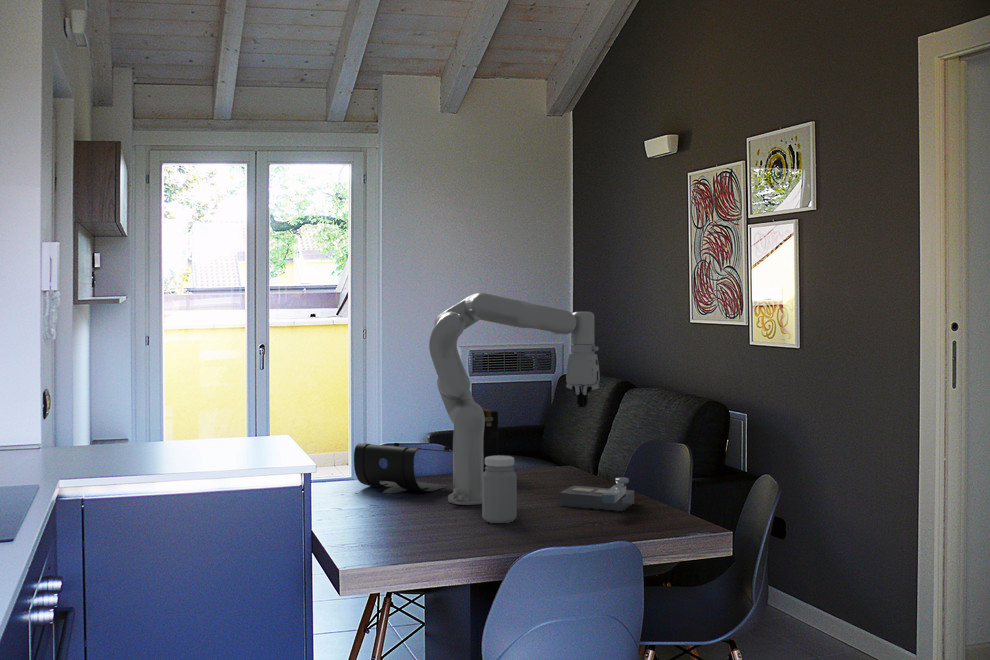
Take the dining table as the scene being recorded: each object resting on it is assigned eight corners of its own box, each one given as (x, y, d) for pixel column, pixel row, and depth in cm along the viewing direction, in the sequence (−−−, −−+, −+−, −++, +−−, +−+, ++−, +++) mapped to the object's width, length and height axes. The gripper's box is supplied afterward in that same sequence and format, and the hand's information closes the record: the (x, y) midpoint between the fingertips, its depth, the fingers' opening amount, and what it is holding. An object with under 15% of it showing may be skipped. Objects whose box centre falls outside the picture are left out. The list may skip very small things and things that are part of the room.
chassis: (621, 511, 268) (622, 488, 268) (559, 505, 276) (559, 482, 276) (634, 503, 279) (634, 481, 279) (573, 497, 288) (573, 476, 288)
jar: (522, 519, 257) (522, 456, 257) (505, 526, 249) (505, 461, 249) (493, 515, 262) (493, 454, 262) (475, 522, 254) (475, 458, 253)
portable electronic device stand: (351, 490, 299) (351, 444, 299) (391, 479, 320) (391, 436, 320) (416, 498, 288) (416, 449, 287) (453, 485, 309) (453, 440, 308)
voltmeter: (461, 474, 330) (461, 406, 330) (482, 473, 334) (482, 406, 333) (478, 482, 316) (478, 411, 315) (500, 480, 319) (500, 409, 319)
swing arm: (629, 490, 275) (629, 477, 275) (615, 503, 256) (615, 489, 256) (616, 489, 277) (616, 477, 277) (601, 502, 258) (601, 488, 258)
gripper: (608, 350, 289) (608, 407, 289) (564, 349, 295) (564, 405, 295) (601, 350, 282) (600, 409, 282) (556, 349, 288) (556, 407, 289)
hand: (582, 406), depth 289 cm, fingers closed
